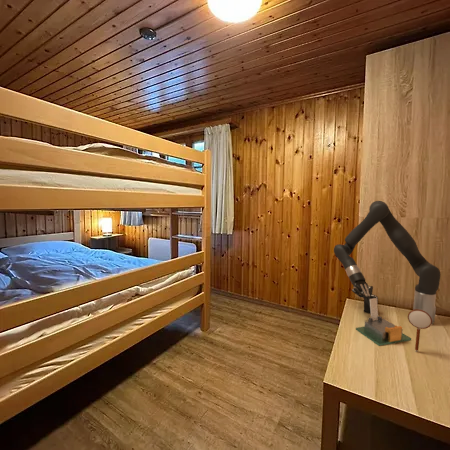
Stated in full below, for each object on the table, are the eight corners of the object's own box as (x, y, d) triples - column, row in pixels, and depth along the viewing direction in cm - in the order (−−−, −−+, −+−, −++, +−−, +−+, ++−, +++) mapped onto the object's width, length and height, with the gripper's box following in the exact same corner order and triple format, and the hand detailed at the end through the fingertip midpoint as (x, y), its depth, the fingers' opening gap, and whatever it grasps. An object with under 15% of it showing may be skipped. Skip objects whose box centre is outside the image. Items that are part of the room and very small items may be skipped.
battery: (377, 313, 152) (378, 295, 150) (376, 315, 149) (377, 297, 148) (364, 309, 156) (365, 292, 155) (362, 311, 154) (364, 293, 152)
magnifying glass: (428, 354, 113) (433, 312, 110) (428, 356, 112) (432, 313, 109) (405, 347, 118) (408, 306, 116) (404, 348, 117) (408, 307, 115)
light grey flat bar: (378, 319, 134) (377, 319, 134) (376, 298, 134) (375, 298, 135) (372, 320, 133) (371, 320, 133) (370, 299, 133) (369, 298, 134)
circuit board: (385, 324, 138) (386, 311, 137) (411, 340, 124) (412, 325, 123) (355, 329, 134) (356, 316, 133) (379, 346, 119) (380, 330, 118)
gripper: (348, 272, 142) (364, 302, 131) (368, 270, 145) (385, 299, 134) (341, 278, 147) (356, 307, 137) (360, 276, 151) (376, 305, 140)
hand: (370, 303), depth 136 cm, fingers closed
